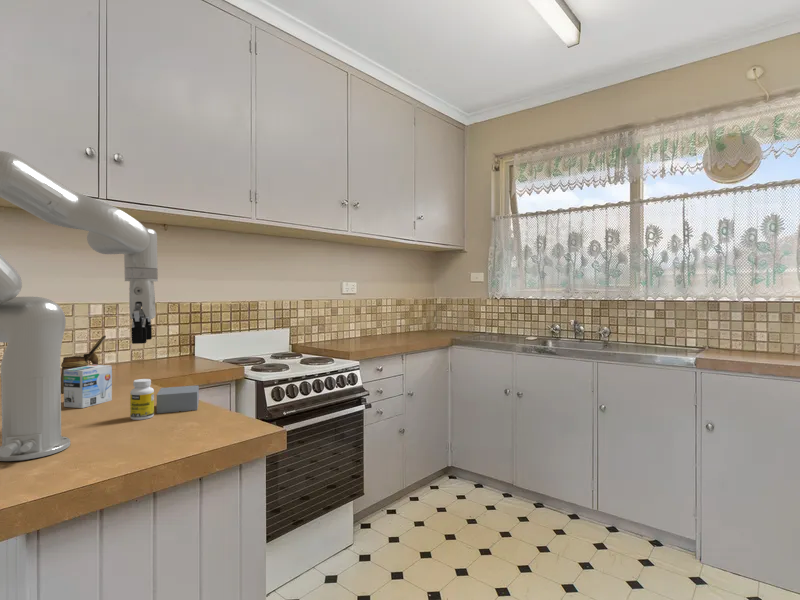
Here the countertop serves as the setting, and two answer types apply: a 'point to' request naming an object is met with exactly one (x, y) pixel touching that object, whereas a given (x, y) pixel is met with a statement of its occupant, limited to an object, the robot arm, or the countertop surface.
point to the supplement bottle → (142, 400)
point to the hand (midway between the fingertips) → (142, 341)
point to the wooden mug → (79, 361)
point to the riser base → (177, 399)
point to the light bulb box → (87, 386)
